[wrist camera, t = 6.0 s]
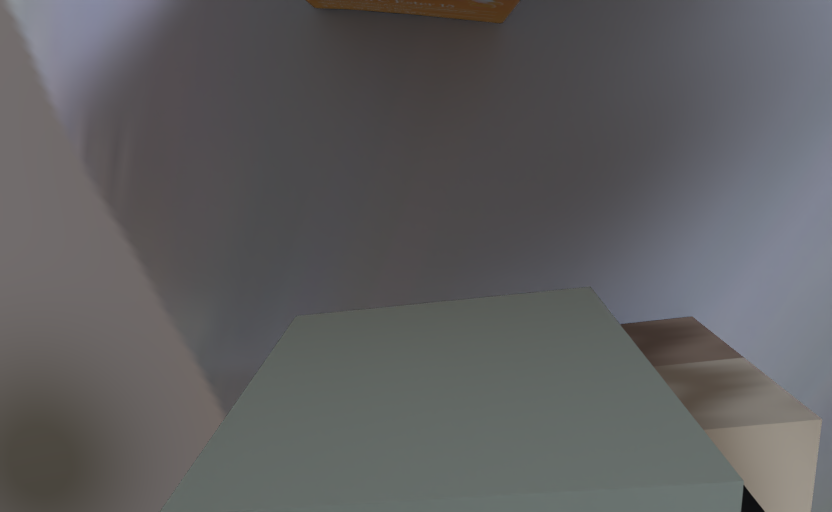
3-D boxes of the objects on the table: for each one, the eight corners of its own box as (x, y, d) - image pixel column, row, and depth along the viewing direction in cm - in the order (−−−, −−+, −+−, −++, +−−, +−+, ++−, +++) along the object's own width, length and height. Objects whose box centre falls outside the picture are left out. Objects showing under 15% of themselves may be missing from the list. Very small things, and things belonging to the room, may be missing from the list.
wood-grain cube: (692, 316, 23) (821, 419, 15) (688, 453, 25) (799, 603, 17) (525, 334, 23) (569, 441, 16) (536, 466, 26) (579, 617, 18)
